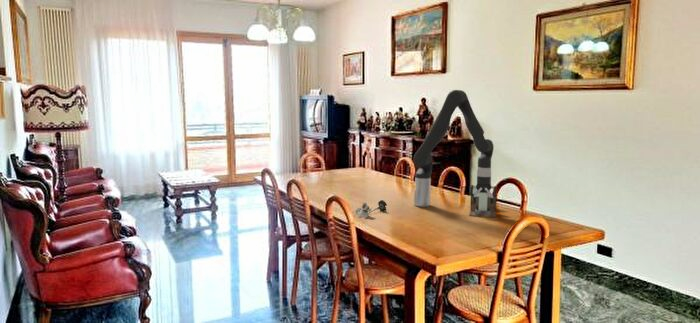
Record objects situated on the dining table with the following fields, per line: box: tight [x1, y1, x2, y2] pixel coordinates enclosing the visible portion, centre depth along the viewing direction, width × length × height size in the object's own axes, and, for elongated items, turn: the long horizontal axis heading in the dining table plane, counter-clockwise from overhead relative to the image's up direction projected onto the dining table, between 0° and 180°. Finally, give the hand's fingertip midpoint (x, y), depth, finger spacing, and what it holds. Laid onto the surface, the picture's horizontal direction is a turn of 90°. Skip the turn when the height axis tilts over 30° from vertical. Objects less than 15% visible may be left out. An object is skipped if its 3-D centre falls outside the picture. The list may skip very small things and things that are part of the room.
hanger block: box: [478, 192, 488, 211], centre depth 266 cm, size 4×6×12 cm
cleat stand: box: [468, 195, 497, 218], centre depth 266 cm, size 14×11×10 cm
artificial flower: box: [354, 199, 388, 219], centre depth 268 cm, size 9×22×10 cm, turn 134°
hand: (483, 203), depth 266 cm, fingers open, 8 cm apart
